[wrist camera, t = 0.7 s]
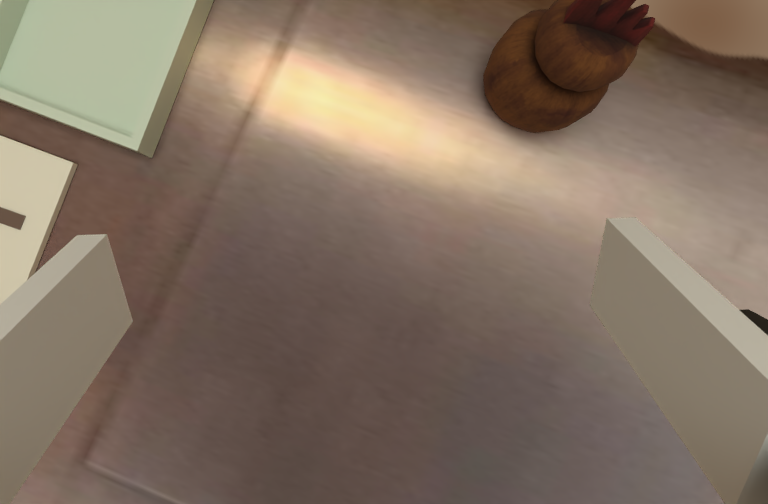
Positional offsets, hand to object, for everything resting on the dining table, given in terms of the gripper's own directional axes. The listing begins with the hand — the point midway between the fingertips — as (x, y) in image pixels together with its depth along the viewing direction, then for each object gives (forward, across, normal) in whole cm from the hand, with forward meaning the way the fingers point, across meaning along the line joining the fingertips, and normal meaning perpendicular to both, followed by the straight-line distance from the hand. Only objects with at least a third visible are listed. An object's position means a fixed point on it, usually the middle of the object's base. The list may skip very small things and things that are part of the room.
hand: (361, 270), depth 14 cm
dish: (+24, +16, -4) cm, 29 cm away
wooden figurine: (+24, -11, 0) cm, 26 cm away
